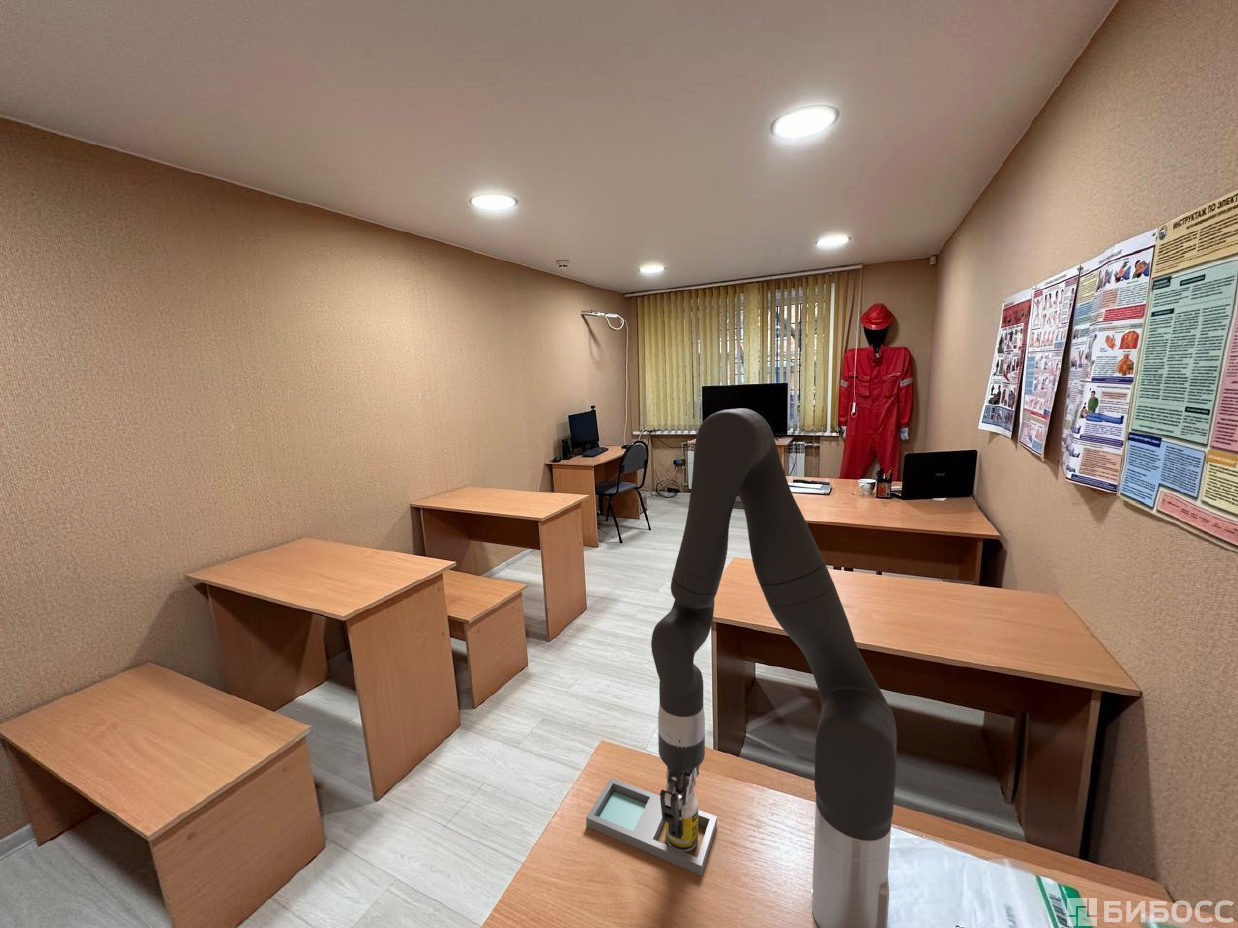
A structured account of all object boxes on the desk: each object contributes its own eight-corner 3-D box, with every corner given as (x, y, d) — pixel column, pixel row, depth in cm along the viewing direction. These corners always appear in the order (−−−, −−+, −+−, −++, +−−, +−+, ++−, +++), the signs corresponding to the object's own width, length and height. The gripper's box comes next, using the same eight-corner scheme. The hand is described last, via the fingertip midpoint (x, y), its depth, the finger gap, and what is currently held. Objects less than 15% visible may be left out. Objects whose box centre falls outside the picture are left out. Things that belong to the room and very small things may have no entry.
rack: (716, 825, 82) (717, 816, 81) (701, 875, 73) (701, 865, 73) (611, 785, 90) (610, 777, 90) (586, 826, 82) (586, 817, 82)
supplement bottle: (697, 856, 76) (697, 802, 75) (664, 850, 77) (663, 797, 76) (698, 826, 82) (698, 775, 80) (667, 821, 83) (666, 771, 81)
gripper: (690, 766, 69) (690, 867, 71) (715, 707, 81) (714, 795, 84) (642, 751, 72) (644, 848, 74) (674, 696, 85) (674, 781, 87)
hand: (681, 819), depth 79 cm, fingers closed on supplement bottle, 5 cm apart
